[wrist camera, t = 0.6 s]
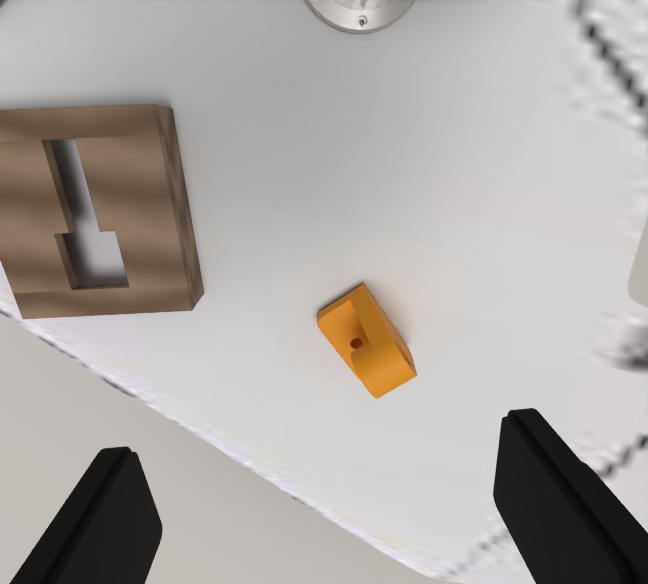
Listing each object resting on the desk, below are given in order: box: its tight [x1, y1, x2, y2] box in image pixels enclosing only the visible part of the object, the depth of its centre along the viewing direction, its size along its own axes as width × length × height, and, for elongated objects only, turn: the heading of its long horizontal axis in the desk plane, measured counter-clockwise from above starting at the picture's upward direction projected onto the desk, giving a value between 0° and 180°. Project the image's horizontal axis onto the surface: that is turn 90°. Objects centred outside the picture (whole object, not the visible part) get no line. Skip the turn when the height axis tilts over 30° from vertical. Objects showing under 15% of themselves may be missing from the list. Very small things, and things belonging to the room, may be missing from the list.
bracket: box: [317, 284, 417, 398], centre depth 42 cm, size 11×7×12 cm, turn 34°
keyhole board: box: [0, 104, 204, 319], centre depth 39 cm, size 20×18×5 cm
